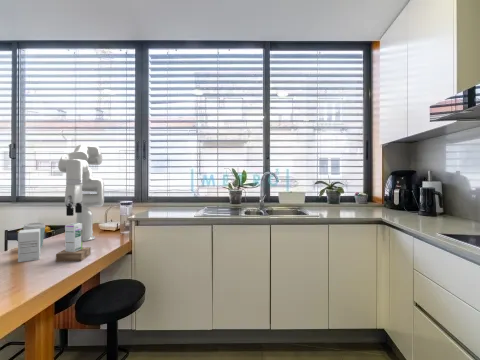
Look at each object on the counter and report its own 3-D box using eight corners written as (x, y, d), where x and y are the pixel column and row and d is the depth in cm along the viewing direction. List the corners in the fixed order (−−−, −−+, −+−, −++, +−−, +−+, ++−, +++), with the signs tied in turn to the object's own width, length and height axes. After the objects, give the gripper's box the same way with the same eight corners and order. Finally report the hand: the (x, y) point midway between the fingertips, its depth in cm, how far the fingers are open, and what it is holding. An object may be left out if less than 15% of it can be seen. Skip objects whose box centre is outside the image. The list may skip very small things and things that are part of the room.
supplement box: (19, 257, 143) (19, 229, 143) (40, 255, 148) (40, 228, 148) (17, 262, 135) (17, 233, 135) (39, 259, 140) (39, 231, 140)
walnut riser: (67, 254, 149) (67, 247, 149) (90, 254, 151) (90, 247, 151) (55, 261, 137) (56, 254, 137) (81, 261, 139) (81, 253, 139)
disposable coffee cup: (49, 247, 163) (49, 223, 163) (29, 252, 153) (29, 226, 153) (39, 245, 167) (39, 221, 167) (19, 249, 158) (19, 224, 157)
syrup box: (74, 252, 141) (74, 224, 140) (64, 251, 141) (64, 224, 141) (82, 249, 146) (82, 222, 146) (72, 248, 147) (73, 222, 147)
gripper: (74, 181, 152) (74, 211, 152) (58, 183, 134) (58, 216, 135) (88, 181, 153) (88, 211, 153) (74, 183, 136) (74, 216, 136)
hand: (74, 214), depth 144 cm, fingers open, 9 cm apart
